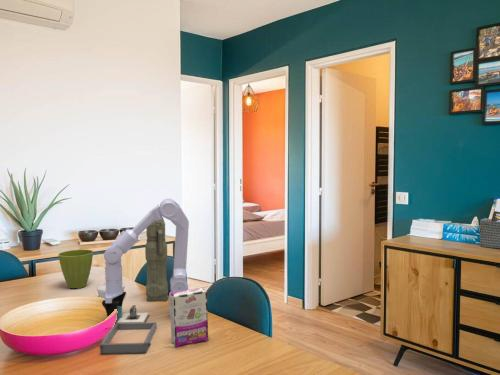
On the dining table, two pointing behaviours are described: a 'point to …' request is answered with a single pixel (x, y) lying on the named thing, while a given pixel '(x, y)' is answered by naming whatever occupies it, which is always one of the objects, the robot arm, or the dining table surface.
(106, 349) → the charcoal tray
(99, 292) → the ramekin
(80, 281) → the flower pot
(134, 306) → the metal T-head stake
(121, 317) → the cream ring
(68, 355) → the dining table surface
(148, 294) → the stone pillar statue
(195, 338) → the candy bar box
